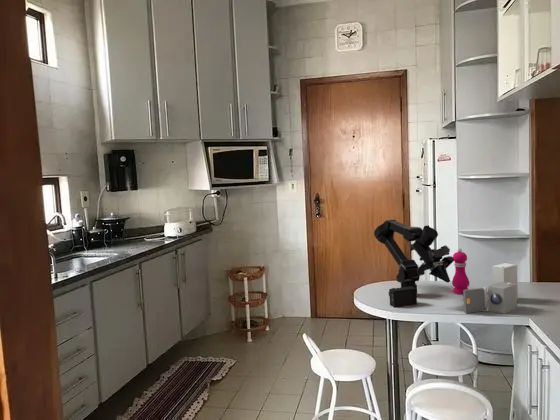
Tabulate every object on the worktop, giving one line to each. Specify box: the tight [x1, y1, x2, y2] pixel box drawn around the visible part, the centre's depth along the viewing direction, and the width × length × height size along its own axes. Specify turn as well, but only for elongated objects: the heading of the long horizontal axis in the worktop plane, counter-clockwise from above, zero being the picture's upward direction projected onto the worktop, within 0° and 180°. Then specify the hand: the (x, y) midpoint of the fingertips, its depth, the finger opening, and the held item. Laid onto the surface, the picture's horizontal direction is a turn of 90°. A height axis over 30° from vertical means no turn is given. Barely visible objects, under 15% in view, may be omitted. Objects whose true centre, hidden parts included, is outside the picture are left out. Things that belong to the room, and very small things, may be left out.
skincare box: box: [491, 262, 519, 300], centre depth 189 cm, size 8×6×15 cm
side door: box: [462, 286, 488, 314], centre depth 176 cm, size 10×2×9 cm, turn 102°
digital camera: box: [388, 286, 418, 308], centre depth 192 cm, size 10×5×7 cm, turn 104°
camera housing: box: [487, 282, 518, 315], centre depth 177 cm, size 6×11×10 cm, turn 126°
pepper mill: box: [451, 248, 470, 295], centre depth 205 cm, size 7×7×20 cm
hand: (449, 281), depth 186 cm, fingers closed
